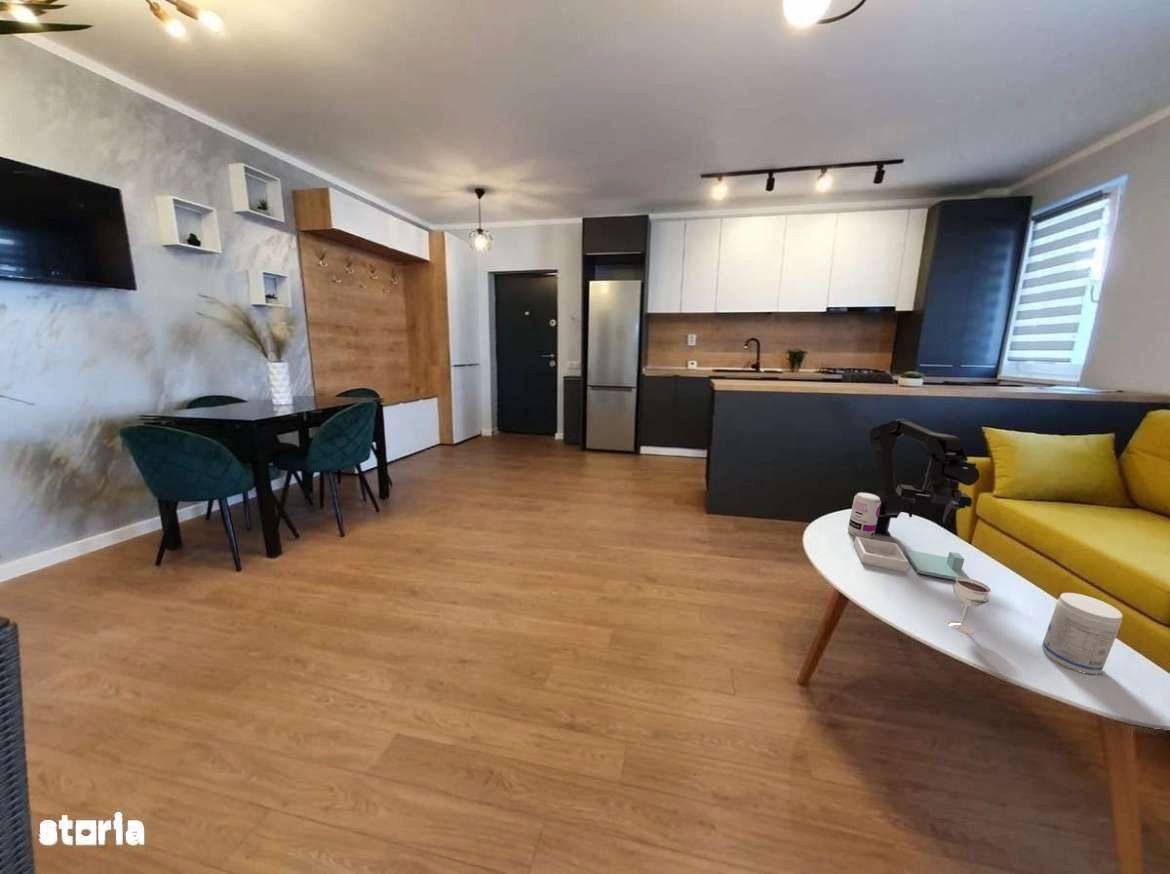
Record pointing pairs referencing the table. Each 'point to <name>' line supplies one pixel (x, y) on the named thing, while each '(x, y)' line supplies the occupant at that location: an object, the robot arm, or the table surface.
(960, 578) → the wineglass
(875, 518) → the supplement can
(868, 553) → the white shallow square tray
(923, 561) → the lid
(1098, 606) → the supplement tub
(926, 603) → the table surface
